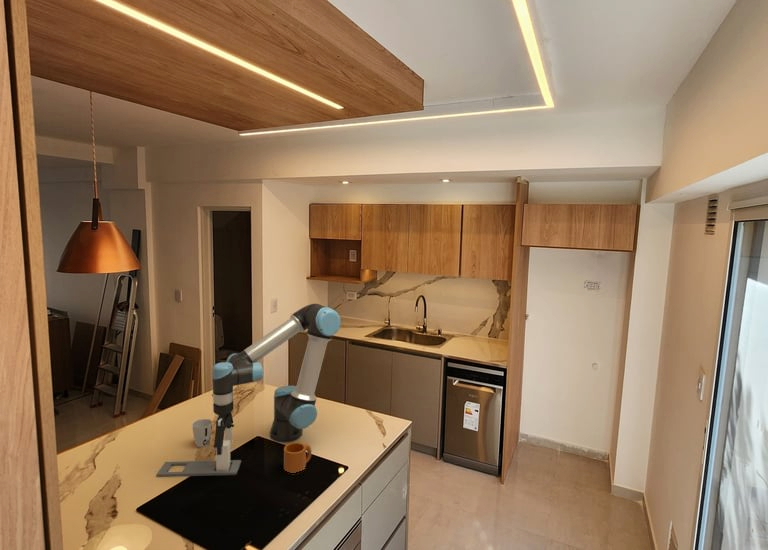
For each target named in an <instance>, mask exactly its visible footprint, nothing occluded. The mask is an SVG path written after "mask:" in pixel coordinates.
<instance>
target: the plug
mask: <svg viewBox="0 0 768 550" xmlns="http://www.w3.org/2000/svg"><path fill="white" fill-rule="evenodd" d="M223 445H224V462H216V470H215V471H229V470H230V468H231V465H230V460H231V443H230V440H225V439H223ZM214 449H215V453H216V448H214Z"/></svg>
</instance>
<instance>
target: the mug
mask: <svg viewBox="0 0 768 550" xmlns="http://www.w3.org/2000/svg"><path fill="white" fill-rule="evenodd" d="M311 458H312V447H311V446H310V445H309V444H305V443H303V442H298V441H297V442H294V441H293V442H290V443H288V444H286V445H285V446H284V447H283V470H285V471H287V472H290V473H296V472H299V471H302V470H304V469H305V470H306V468H305V467H307V463H309V461H310V459H311ZM305 470H304V471H305ZM285 471H284V472H285Z"/></svg>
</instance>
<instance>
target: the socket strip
mask: <svg viewBox="0 0 768 550" xmlns="http://www.w3.org/2000/svg"><path fill="white" fill-rule="evenodd" d="M241 463H242V460H241V459H233V460H231V459H230V468H229V470H228V471H216V460H189V461H188V460H184V461H183V460H182V461H181V460H179V461H178V460H176V461H165V462H164V463H163V464H162V465H161V467H160V468H159V470H158V471H157V473H156V478H159V477H160V478H161V477H163V478H164V477H165V478H167V477H169V478H170V477H198V476H199V477H200V476H201V477H202V476H203V477H204V476H209V477H210V476H236V475H237V474H238V471H239V469H240V466H241ZM174 466H175V467H178V466H180V467H182V466H183V467H184V468H183V469H182V471H170V469H171V468H172V467H174Z"/></svg>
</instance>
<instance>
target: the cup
mask: <svg viewBox="0 0 768 550" xmlns="http://www.w3.org/2000/svg"><path fill="white" fill-rule="evenodd" d="M191 425H192V434H193V439H194V443H195V445H196V447H198V448H205V447H207V446H208V445H209V444H210V441H211V437H212V433H213V432H212V431H213V420H212V419H209V418H201V419H197V420H196V421H194V422H192V424H191Z"/></svg>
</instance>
